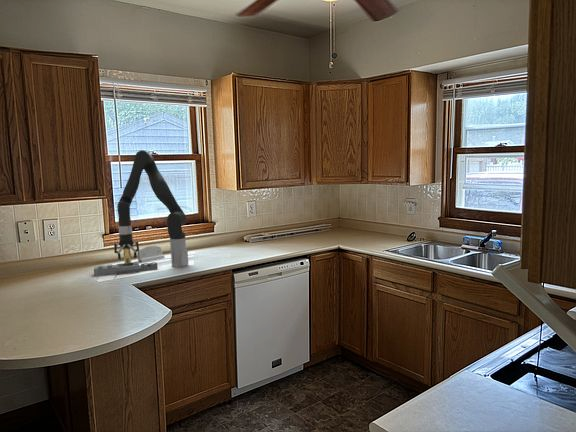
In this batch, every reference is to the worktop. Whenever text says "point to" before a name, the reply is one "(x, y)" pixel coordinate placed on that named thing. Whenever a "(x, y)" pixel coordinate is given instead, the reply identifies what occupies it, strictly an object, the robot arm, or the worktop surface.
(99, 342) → the worktop surface
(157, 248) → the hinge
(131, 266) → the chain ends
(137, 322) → the worktop surface
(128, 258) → the brass pin
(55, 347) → the worktop surface
